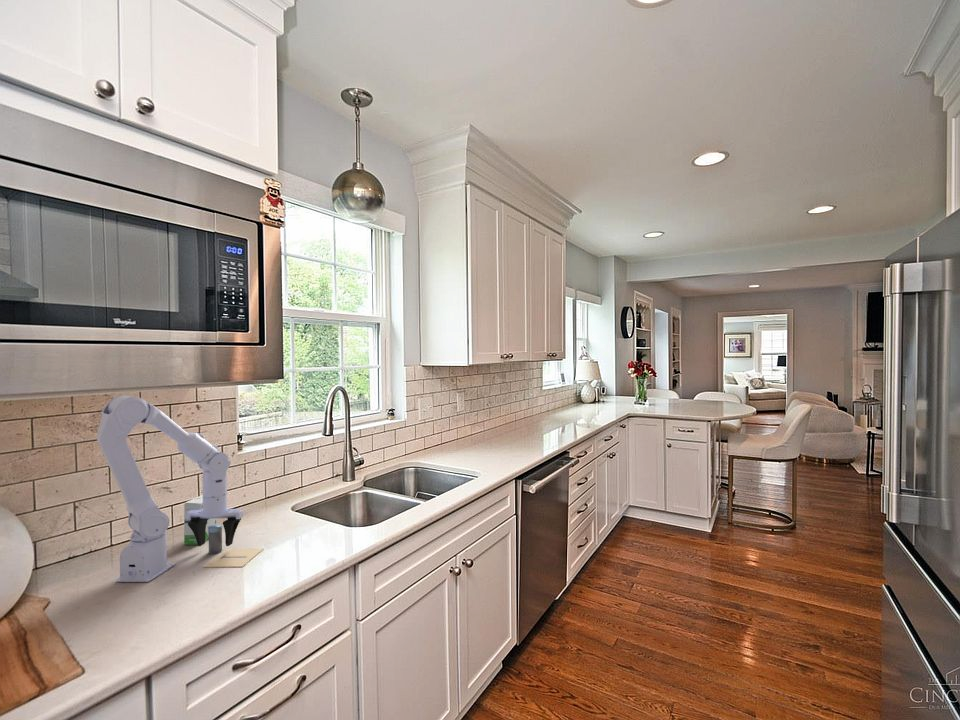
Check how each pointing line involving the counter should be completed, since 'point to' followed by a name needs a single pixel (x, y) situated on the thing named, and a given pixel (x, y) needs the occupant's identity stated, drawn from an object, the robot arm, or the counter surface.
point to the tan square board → (233, 558)
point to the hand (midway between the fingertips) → (215, 544)
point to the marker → (215, 538)
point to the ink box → (190, 505)
